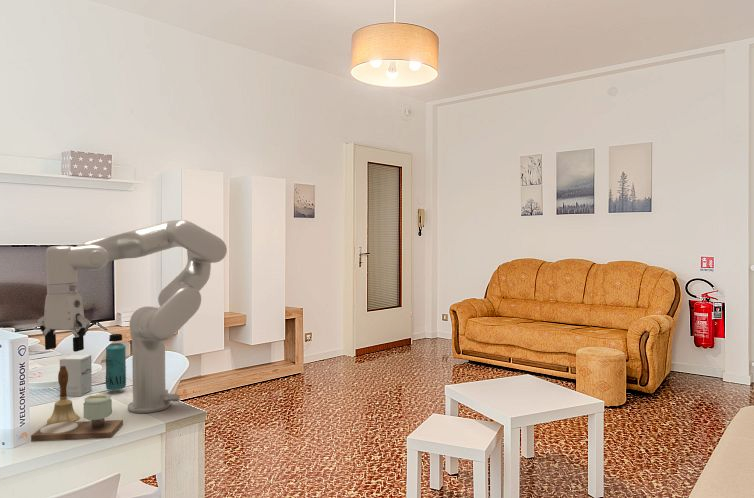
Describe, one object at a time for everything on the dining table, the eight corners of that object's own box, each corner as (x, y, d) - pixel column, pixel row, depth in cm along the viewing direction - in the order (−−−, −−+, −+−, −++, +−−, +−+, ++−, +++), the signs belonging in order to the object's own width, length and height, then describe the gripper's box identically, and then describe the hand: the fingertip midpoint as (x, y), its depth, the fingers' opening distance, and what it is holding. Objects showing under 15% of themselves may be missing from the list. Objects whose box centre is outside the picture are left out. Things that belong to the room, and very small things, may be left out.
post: (106, 424, 155) (105, 399, 155) (102, 428, 152) (101, 402, 152) (94, 424, 155) (93, 399, 155) (89, 428, 152) (89, 403, 151)
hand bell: (86, 416, 166) (85, 363, 166) (64, 426, 158) (63, 370, 158) (62, 414, 168) (62, 362, 168) (40, 423, 160) (39, 368, 160)
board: (123, 424, 159) (123, 419, 159) (111, 437, 149) (110, 431, 149) (48, 428, 157) (48, 422, 156) (31, 441, 147) (30, 434, 147)
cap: (114, 411, 157) (113, 391, 157) (106, 419, 151) (105, 398, 150) (90, 412, 156) (89, 392, 156) (80, 420, 150) (80, 399, 150)
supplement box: (81, 396, 187) (80, 359, 186) (59, 396, 187) (58, 358, 186) (92, 390, 194) (92, 354, 194) (71, 390, 194) (70, 354, 194)
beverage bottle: (113, 388, 196) (112, 332, 195) (130, 389, 195) (129, 332, 194) (101, 394, 189) (100, 335, 189) (119, 395, 188) (118, 336, 188)
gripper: (98, 288, 158) (99, 348, 159) (49, 287, 163) (51, 345, 164) (77, 291, 151) (79, 354, 152) (26, 290, 156) (28, 351, 156)
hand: (64, 349), depth 158 cm, fingers open, 9 cm apart
